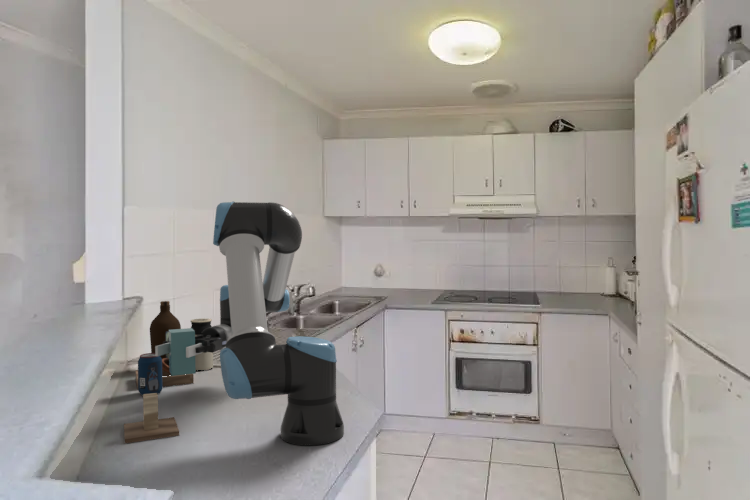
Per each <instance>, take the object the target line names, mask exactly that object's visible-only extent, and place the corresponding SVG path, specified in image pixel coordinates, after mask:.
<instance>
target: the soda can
mask: <svg viewBox="0 0 750 500" xmlns="http://www.w3.org/2000/svg"><path fill="white" fill-rule="evenodd" d="M137 370H138V393H139V394H140V396H143V394H151V393H157V395H160V394H161V392H162V391H163V388H164V387H163V383H162V358H161V357H160V356H155V353H151V352H149V353H142V354H140V355H139V358H138V361H137Z"/></svg>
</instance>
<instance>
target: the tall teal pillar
mask: <svg viewBox="0 0 750 500" xmlns="http://www.w3.org/2000/svg"><path fill="white" fill-rule="evenodd" d="M192 345H195V331H194V330H193V329H192V328H191V327H189V328H188V327H187V328H181V329H173V330H169V372H170V374H171V376H176V375H185V374H193V375H194V374H196V372H197V371H196V369H195V356H192V357H189V358H186V347H189V346H192Z"/></svg>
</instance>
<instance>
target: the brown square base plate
mask: <svg viewBox="0 0 750 500" xmlns="http://www.w3.org/2000/svg"><path fill="white" fill-rule="evenodd" d="M142 400H143V401H142V405H143V407H142V408H143V409H142V410H143V411H142V413H143V417H142V418H143V420H142V421H136V422H127V423H123V433H124V434H123V436H124V437H123V438H124V444H131V443H137V442H143V441H144V442H145V441H150V440H157V439H164V438H170V437H171V438H172V437H177V436H180V430H179V426H178V424H177V420H176V418H175V416H173V417H171V416H170V417H163V418H159V394H157V393H151V394H143V397H142Z"/></svg>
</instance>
